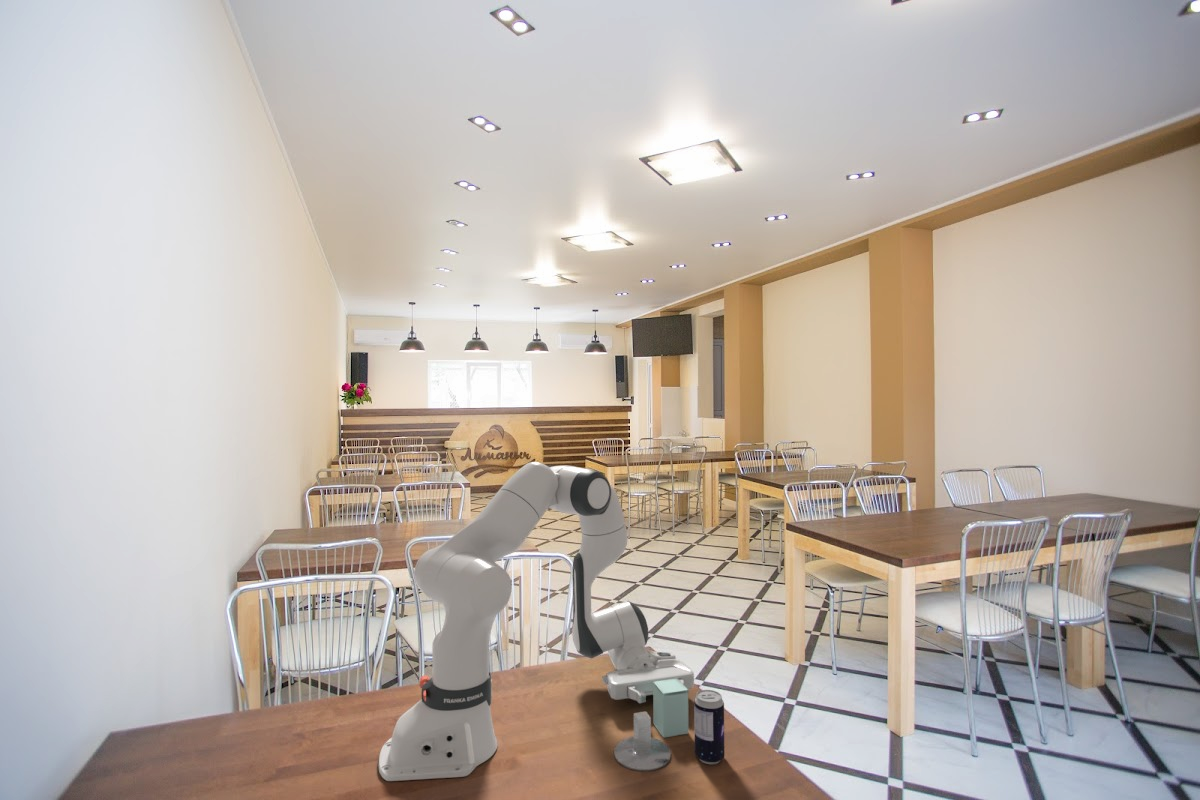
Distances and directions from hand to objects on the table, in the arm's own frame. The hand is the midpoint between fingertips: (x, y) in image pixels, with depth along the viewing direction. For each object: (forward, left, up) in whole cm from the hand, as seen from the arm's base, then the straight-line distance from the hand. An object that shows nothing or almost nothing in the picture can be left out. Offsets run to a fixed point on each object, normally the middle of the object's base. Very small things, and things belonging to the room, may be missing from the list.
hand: (663, 696), depth 129 cm
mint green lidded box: (0, -4, -5) cm, 6 cm away
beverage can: (+3, -16, -5) cm, 17 cm away
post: (-9, -11, -5) cm, 15 cm away
